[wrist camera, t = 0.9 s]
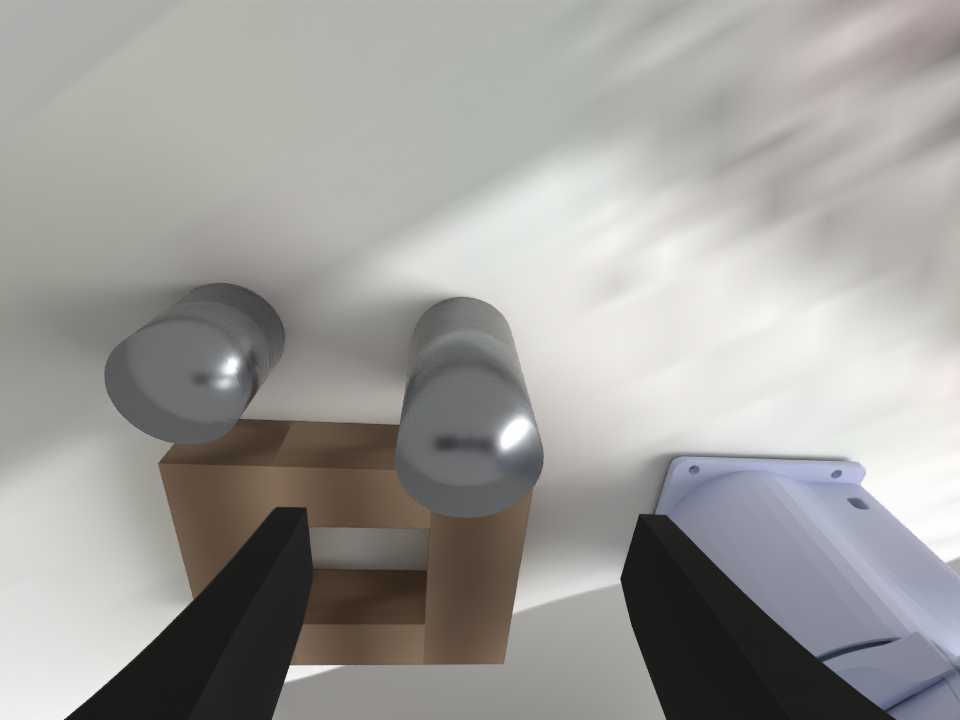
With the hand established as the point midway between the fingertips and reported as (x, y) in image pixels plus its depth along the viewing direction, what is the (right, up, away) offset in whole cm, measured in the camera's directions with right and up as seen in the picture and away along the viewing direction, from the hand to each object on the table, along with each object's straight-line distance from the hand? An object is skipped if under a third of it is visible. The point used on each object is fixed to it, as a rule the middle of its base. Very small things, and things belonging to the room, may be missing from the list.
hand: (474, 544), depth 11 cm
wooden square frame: (-5, -4, +13) cm, 15 cm away
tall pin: (-1, +5, +9) cm, 10 cm away
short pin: (-10, +5, +8) cm, 14 cm away
